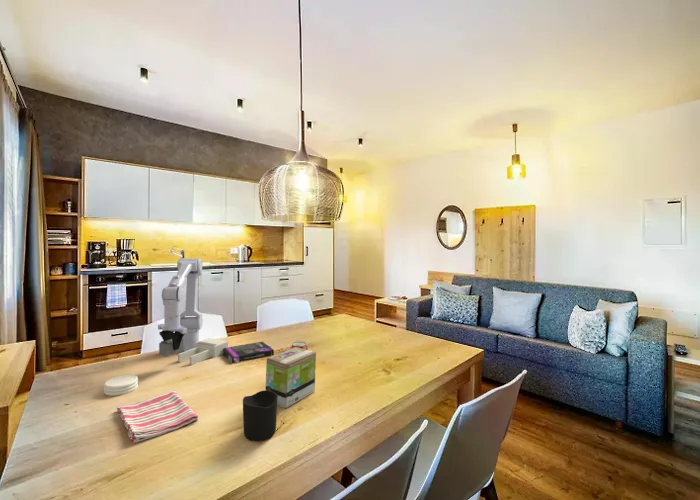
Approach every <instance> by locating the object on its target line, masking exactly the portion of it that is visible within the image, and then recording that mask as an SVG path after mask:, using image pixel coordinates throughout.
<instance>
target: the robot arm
mask: <svg viewBox="0 0 700 500" xmlns="http://www.w3.org/2000/svg"><path fill="white" fill-rule="evenodd" d="M176 267H177V268H176V269H177V273H176V275H174V276H172V278H171V280H170V282H169V283H168V285H167V286H165V287H163V288H162V289H161V290H162V291H161V299H162V304H163V307H164V309H163V310H164V312H163V313H164V315H163V316H164V317H163V319H164V322H163V323H159V324H157V330H161V331H159V335H160V337H161V339H162V341H167V340H170V339H172V341H173V349H174V350H177V349H179V347H180V343H181V340H182V339H183V351H182V352H185V351H188V350H191V349H193V348H195V343H196V342H199V341H200V340H199V339H200V335H199V333H200V331H201V329H203V328H202V327H203V324H204V323H203V321H204V320H203V313H201V312H200V311H199V310H198V309H197V301H198V300H197V298H198V296H197V295H198V281H199V280H198V278H199V276H202V273H203V261H202V258H200V257H198V258H192V257H191V258H189V257H188V258H186V257H185V258H183V257H179V258H178V260H177V263H176ZM185 286H186V287H185ZM184 287H185V288H186V290H185V309H184V311H183V312H181V301H182V299H183V293H184V290H183V289H184Z"/></svg>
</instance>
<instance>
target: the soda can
mask: <svg viewBox="0 0 700 500" xmlns="http://www.w3.org/2000/svg"><path fill="white" fill-rule="evenodd" d="M295 347H298V348H302V349H306V350H308V349H309V347H308V346H307V342H305V341H295V342H292V343H291V346H290V348H289V349H292V348H295Z"/></svg>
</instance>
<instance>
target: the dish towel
mask: <svg viewBox="0 0 700 500" xmlns="http://www.w3.org/2000/svg"><path fill="white" fill-rule="evenodd" d="M116 410H117V413H119V414H118V415H119V417H120V419H121V421H122V420H123V421H122V423H124V426H125V428H126V431H127V436H128V437H129V439H130V440H131V443H132V444H136V443H139V442H143V441H144V440H148V439H151V438H152V439H153V438H155V437H158V436H161V435H164V434H166V433H169V432H173V431H175V430H177V429H180V428H182V427H184V426H186V425H188V424H192V423H194V422H198V421H199V415H197V413H196V412H195V411H194V410H193V409H192V408H191V407H190V406H189V404H187V402H185V401H184V400H183V398H181V396H180V395H178V394H177V390H172V391H169V392H167V393H164V394H161V395H156V396H154V397H150V398H146V399H143V400H141V401H137V402H135V403H130V404H126V405H121V406H118V407H117V408H116Z"/></svg>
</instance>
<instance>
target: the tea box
mask: <svg viewBox="0 0 700 500" xmlns="http://www.w3.org/2000/svg"><path fill="white" fill-rule="evenodd" d="M316 361H317V352H316V351H314V350H306V349H302V348H298V347H295V348H292V349H290V348H289V349H287V350H285V351H282V352H279V353H276V354H274V355H271V356H267V357H266V366H265V367H266V371H265V390H268V391H272V392H275V393H276V394H277V396H278V400H277V407H281V408H284V409H288V407H290V406H292V405H293V404H295V403H297V402H299V401H300V400H302V399H304V398H306V397H307V396H309V395H311V394H313V393H315V389H316V367H317V366H316V363H317V362H316Z"/></svg>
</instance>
